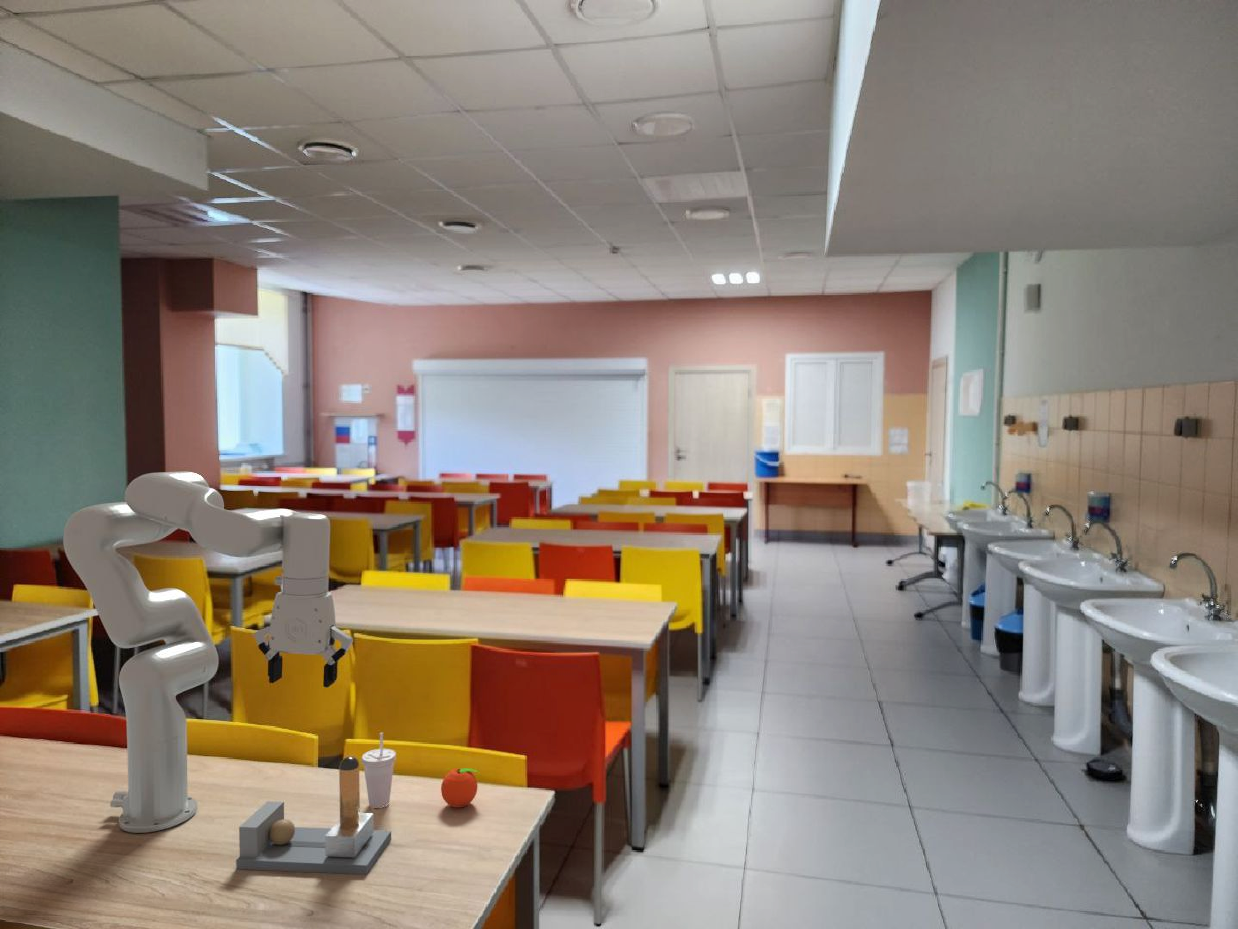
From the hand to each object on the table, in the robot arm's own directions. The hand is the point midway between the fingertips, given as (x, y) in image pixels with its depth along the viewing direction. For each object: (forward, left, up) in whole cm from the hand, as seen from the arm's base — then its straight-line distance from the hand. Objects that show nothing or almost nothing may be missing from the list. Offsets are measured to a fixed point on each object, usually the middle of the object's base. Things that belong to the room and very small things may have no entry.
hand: (302, 682), depth 135 cm
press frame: (+4, -3, -28) cm, 29 cm away
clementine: (+24, +16, -29) cm, 40 cm away
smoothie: (+8, +15, -29) cm, 33 cm away
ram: (+10, -3, -26) cm, 28 cm away
